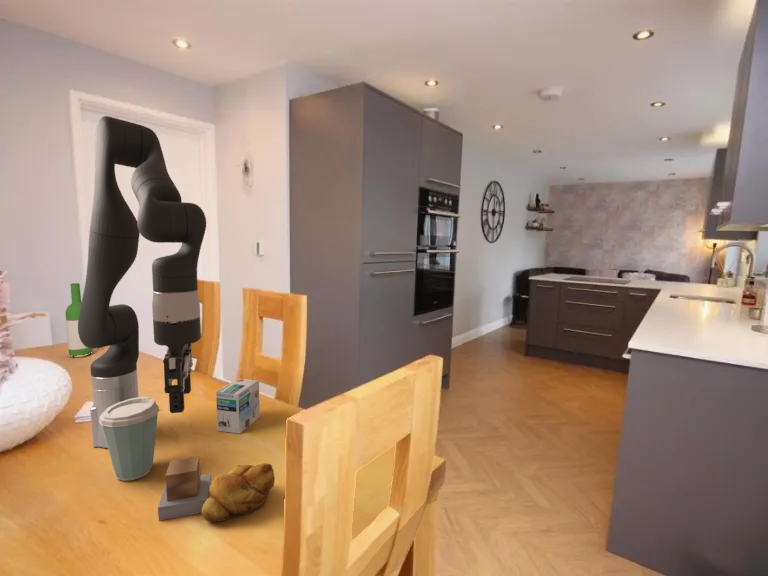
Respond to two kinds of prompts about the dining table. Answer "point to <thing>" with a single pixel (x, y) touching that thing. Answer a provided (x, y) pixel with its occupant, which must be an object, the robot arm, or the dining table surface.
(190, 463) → the walnut cube
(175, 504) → the slate coaster
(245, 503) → the bread roll
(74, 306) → the wine bottle
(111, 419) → the disposable coffee cup
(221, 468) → the dining table surface
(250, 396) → the light bulb box
